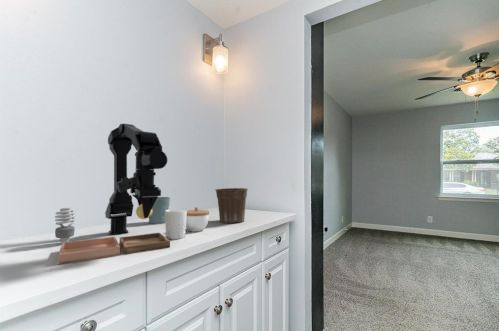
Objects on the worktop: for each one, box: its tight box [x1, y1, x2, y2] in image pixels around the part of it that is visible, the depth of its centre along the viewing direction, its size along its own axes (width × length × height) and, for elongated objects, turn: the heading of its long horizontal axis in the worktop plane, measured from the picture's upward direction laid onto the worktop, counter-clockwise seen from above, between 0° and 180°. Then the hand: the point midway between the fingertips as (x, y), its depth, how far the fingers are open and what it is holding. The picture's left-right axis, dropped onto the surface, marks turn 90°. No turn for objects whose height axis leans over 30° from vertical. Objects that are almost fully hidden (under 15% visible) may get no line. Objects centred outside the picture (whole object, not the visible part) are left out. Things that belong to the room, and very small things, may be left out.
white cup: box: [164, 208, 187, 240], centre depth 94 cm, size 8×8×10 cm
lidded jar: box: [186, 207, 210, 232], centre depth 107 cm, size 11×11×9 cm
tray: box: [119, 232, 171, 255], centre depth 83 cm, size 14×13×2 cm
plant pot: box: [214, 187, 249, 224], centre depth 127 cm, size 16×16×16 cm
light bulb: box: [54, 207, 76, 244], centre depth 86 cm, size 6×6×12 cm
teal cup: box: [148, 196, 171, 225], centre depth 124 cm, size 10×10×12 cm
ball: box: [135, 204, 152, 220], centre depth 84 cm, size 5×5×5 cm
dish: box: [57, 235, 121, 266], centre depth 75 cm, size 14×14×2 cm
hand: (144, 216), depth 84 cm, fingers closed on ball, 5 cm apart
